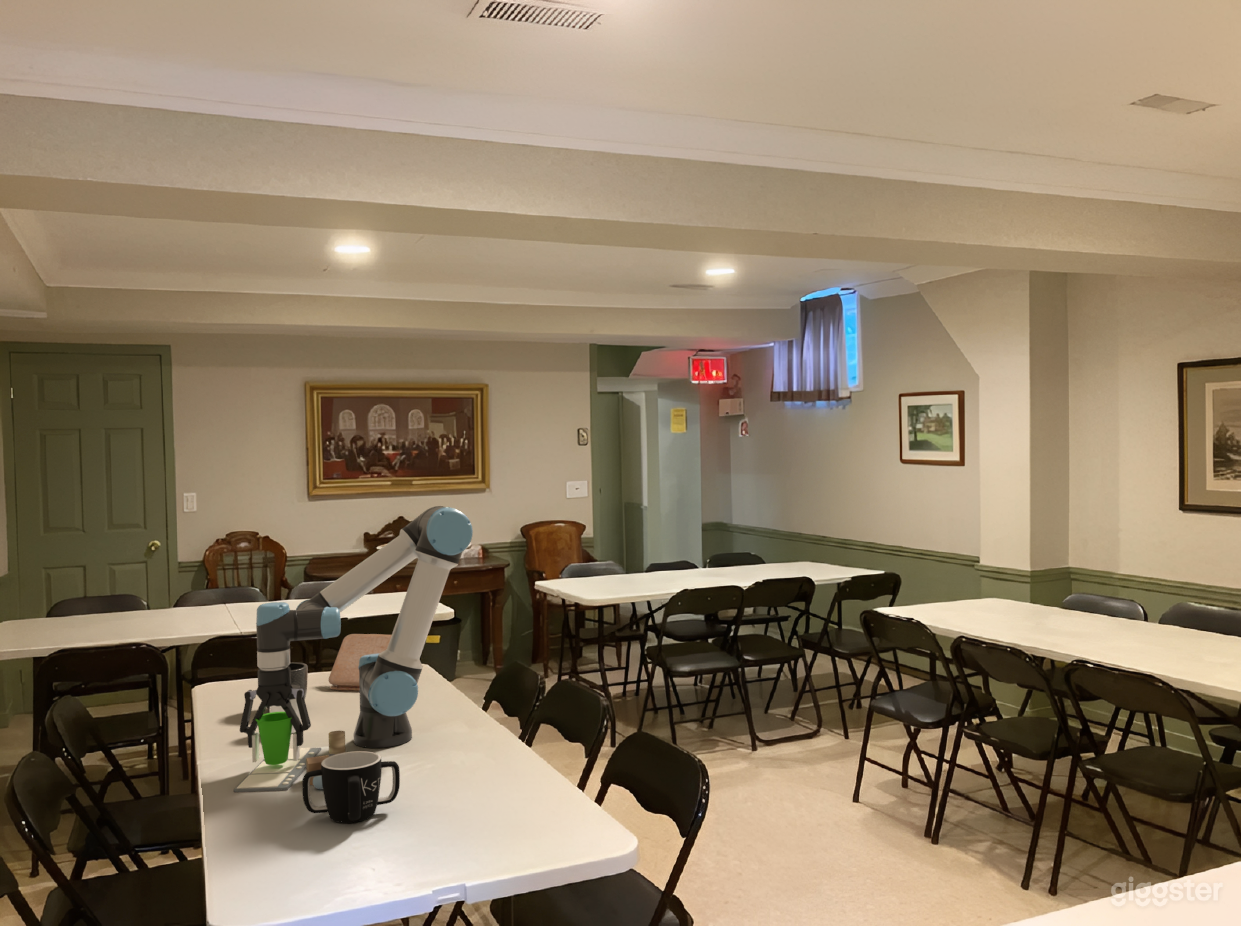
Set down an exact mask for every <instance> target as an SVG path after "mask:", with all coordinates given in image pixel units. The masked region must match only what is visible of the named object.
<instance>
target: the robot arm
mask: <svg viewBox="0 0 1241 926" xmlns="http://www.w3.org/2000/svg"><path fill="white" fill-rule="evenodd" d="M473 533H474V531H473V525H472V523H471V520H470V519H469V517H468V516H467V515H466V514H465V513H464V512H462V511H461V510H459V509H456V508H455V507H449V506H441V505H437V506H432V507H428V508H427V509H426V510H424V511H422V512H421V513H420V514H419V515H418V516H416V518H414V519H413V520H412V521H411V522H409V523H408V524H407V525H405V526H403V528H401V529H400V530H399V535H398V536H397V537H395V538H393V539H392V540H390V541H389V542H388V543H387V544H385V545H384V546H382V547H381V548H380V549H378V550H377V551H376V552H374V553H373V554H371V555H370V556H368V557H367V558H365V559H364V560H363V561H361V562H360V563H359V564H357V565H355V567H353V568H352V569H350V570H348V571H347V572H346V573H344V574H342V576H340V577H339V578H338V579H336V580H334V581H333V582H332V583H330V584H329V585H328V586H326V587H325V588H324V589H322V590H321V591H319V592H318V593H316V594H314V595H313V596H312V597H311V598H309V599H305V600H303V601H301V602H300V603H299V604H298V605H297V607H295V608H296V609H291V608H290V606H289V603H287V602H282V601H280V602H279V601H278V602H277V601H275V602H274V601H273V602H266V603H262V604H260V605H259V606H258V607H257V609H256V623H255V624H256V650H257V651H256V653H257V654H256V658H257V659H256V660H257V661H256V662H257V664H256V665H257V667H258V670H257V689H255V690H252V689H249V690H247V691H245V692H244V707H243V712H242V717H241V721H240V725H239V733H244V734H246V735H247V746H248V748H250V749H251V748H252V749H251V751H252V754H251V756H252V758H251V759H252V763H256V762H257V761H259V760H260V734H259V731H257V729H258V724H257V721H256V720H255V719H258V720H260V719H261V718H262V716H263V714H265V711H266V709H268V708H267V707H271V706H281V707H282V709H283V710H284V711H285V713H286V714H287V716H288V718H291V717H292V719H291V720H290V722H291V723H292V725H293V727H294V729H295V732H294V733H292V748H293V761H297V760H298V759H299V757H300V749H299V748H300V747H302V746H303V744H304V732H305V731H308V730H309V729H310V728H311V727H312V722H311V719H310V715H309V712H308V707H307V705H306V701H305V700H306V699H305V700H304V691H305V690H304V688H301V689H293V688H292V686H291V670H290V667H289V666H288V665H289V664H290V663H291V645H290V644H291V642H297V641H307V640H308V641H309V640H320V639H325V640H327V639H329V638H330V639H331V638H337V637H339V636H340V634H341V627H342V625H341V624H342V622H341V621H342V620H341V619H342V617H341V613H342V612H343V611H344V610H346V609H347V608H349V607H350V606H351V605H353V604H355V603H356V602H357V601H359V600H360V599H361V598H363V597H364V596H365V595H366V594H368V593H369V592H371V591H372V590H374V589H375V588H377V587H378V586H379V585H380V584H382V583H383V582H385V581H386V580H387V579H388V578H391V576H393V575H394V574H396V573H397V572H398V571H400V570H401V569H403V568H404V567H406V566H408V564H410V563H412V562H413V561H414V560H415V559H417V562H416V565H415V567H414V570H413V573H412V576H411V579H410V582H409V584H408V587H407V590H406V593H405V596H404V599H403V602H402V605H401V608H400V610H399V614H398V617H397V619H396V622H395V625H394V627H393V629H392V630H393V631H392V633H391V635H392V636H391V639H390V642H389V645H388V647H387V649H386V650H385V651H383V652H381V653H378V654H370V655H364V656H362V657H361V658H360V659H359V666H358V669H359V688H360V691H359V714H358V719H357V721H356V725H355V728H354V732H353V743H354V744H355V745H356V746H357V747H361V748H369V749H373V748H374V749H375V748H376V749H377V748H378V749H379V748H390V747H395V746H396V747H397V746H399V745H402V744H405V743H407V742H409V741H411V739H413V729H412V728H413V727H412V725H411V722H410V720H409V717H408V715H407V712H408V711H410V710H411V709H412V707H414V705H415V704H416V702H417V699H418V696H419V685H418V682H419V680H420V677H421V674H422V671H423V667H424V666H423V665H422V662H421V660H420V658H421V655H422V652H423V650H424V647H425V644H426V641H427V638H428V636H429V635H428V634H429V633H430V630H431V626H432V623H433V621H434V617H435V614H436V612H437V609H438V606H439V603H440V600H441V597H442V596H443V595H442V594H443V591H444V589H445V585H446V583H447V580H448V577H449V575H450V571H451V569H453V568H455V567H457V566H458V565H459V563H460V560H461V557H462V555H463V552H464V551H465V550H467V548H468V547H469V545H470V544H471V542H472V540H473V539H472V538H473ZM291 694H293V695H294V697H295V698H296V702H297V706H298V710H299V713H300V717H301V722H300V720H299V718H298V716H297V714H296V713H295V711H294V709H293V707H292V705H291V702H290V700H289V697H290V695H291ZM256 696H257V697H258V698H259V700H260V703H259V706H258V709H257V711H256V713H255V715H254V717H253V719H252V722H251V723H250V719H251V713H252V708H253V704H254V700H255V699H256ZM249 724H250V725H249Z"/></svg>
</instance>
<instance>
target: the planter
mask: <svg viewBox="0 0 1241 926" xmlns="http://www.w3.org/2000/svg"><path fill="white" fill-rule="evenodd" d="M288 666H289V667H290V670H291V685H298V686H300V689H301V688H304V690H305V691H304V700H306V697H307V693H308V677H309V676H308V675H309V673H308V671H309V669H308V665H307V664H306V663H304V662H290V664H289V665H288ZM266 709H268V710H269V709H270V707H267V708H266Z"/></svg>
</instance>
